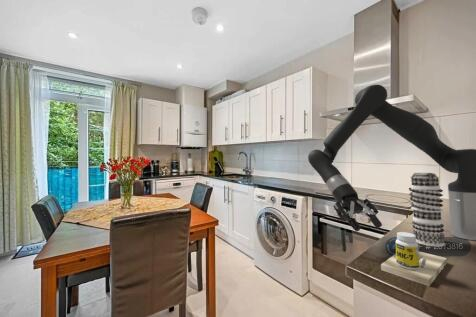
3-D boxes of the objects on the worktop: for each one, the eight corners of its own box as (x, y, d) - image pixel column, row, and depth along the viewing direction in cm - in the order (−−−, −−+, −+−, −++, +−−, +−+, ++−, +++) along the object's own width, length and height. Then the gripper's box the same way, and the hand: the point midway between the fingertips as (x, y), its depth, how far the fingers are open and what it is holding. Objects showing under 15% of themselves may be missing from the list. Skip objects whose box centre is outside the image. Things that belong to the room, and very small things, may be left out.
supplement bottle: (394, 265, 57) (392, 234, 57) (399, 260, 59) (398, 230, 60) (416, 272, 53) (414, 238, 53) (421, 266, 56) (419, 234, 56)
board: (404, 252, 68) (403, 247, 68) (446, 263, 60) (446, 257, 60) (381, 270, 57) (380, 264, 58) (429, 286, 49) (429, 279, 49)
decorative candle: (440, 249, 69) (435, 173, 70) (407, 240, 78) (403, 173, 78) (451, 243, 74) (446, 172, 75) (418, 236, 82) (414, 172, 83)
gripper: (329, 184, 75) (358, 225, 63) (361, 181, 79) (393, 219, 67) (320, 197, 80) (345, 237, 68) (351, 194, 83) (379, 231, 72)
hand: (369, 228), depth 68 cm, fingers open, 8 cm apart
